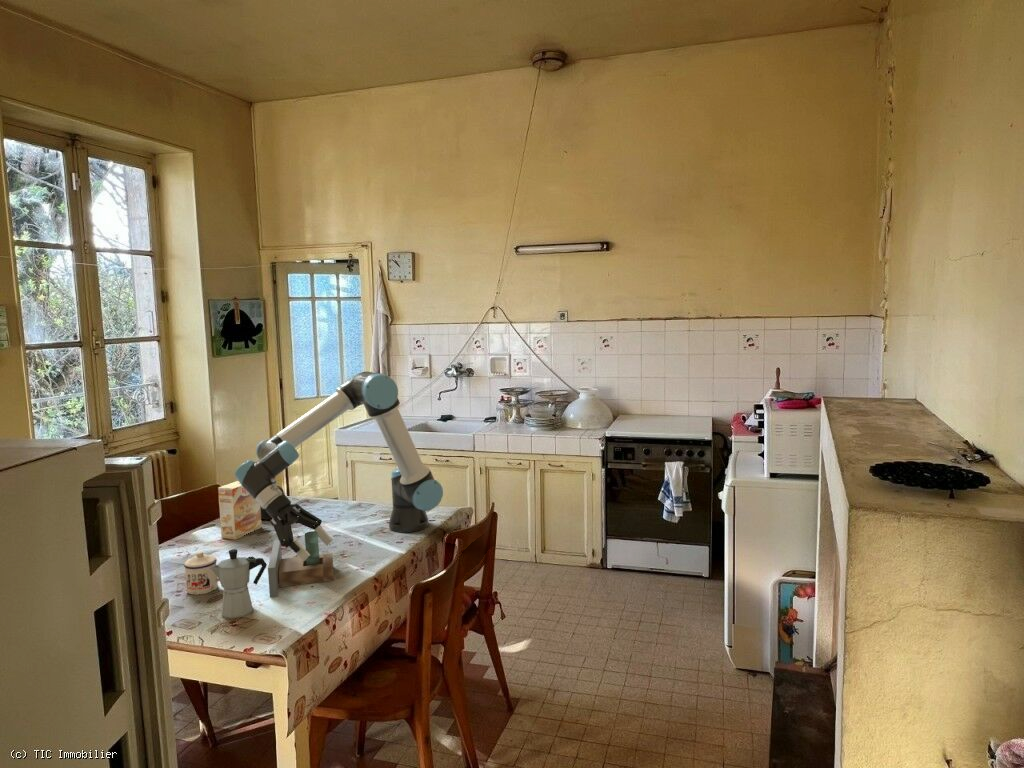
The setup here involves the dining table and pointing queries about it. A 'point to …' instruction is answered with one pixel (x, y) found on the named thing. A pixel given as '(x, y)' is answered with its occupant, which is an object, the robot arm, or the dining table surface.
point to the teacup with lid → (200, 574)
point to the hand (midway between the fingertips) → (319, 550)
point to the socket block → (305, 571)
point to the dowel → (312, 548)
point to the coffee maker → (237, 583)
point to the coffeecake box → (237, 511)
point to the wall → (274, 568)
